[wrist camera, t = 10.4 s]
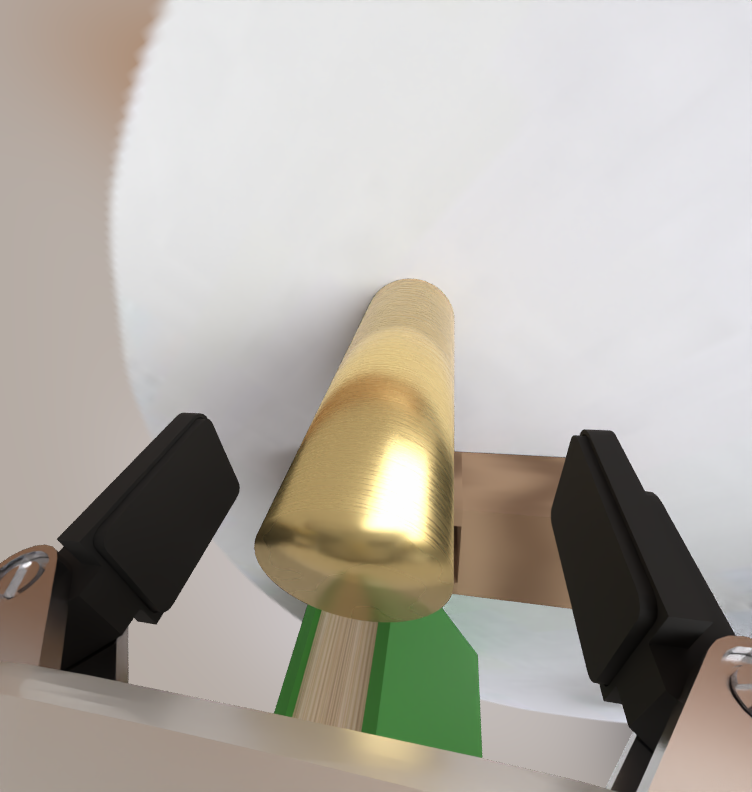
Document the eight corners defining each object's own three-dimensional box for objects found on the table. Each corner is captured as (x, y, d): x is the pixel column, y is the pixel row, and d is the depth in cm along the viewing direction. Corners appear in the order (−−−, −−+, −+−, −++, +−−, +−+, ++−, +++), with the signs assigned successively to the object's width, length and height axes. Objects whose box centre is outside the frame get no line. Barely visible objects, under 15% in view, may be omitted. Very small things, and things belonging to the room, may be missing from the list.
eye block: (602, 459, 20) (631, 523, 16) (570, 547, 24) (588, 610, 21) (316, 444, 23) (293, 496, 19) (335, 524, 27) (320, 577, 24)
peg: (455, 277, 15) (458, 520, 6) (453, 360, 18) (450, 634, 8) (362, 280, 16) (227, 498, 7) (371, 359, 18) (280, 608, 9)
